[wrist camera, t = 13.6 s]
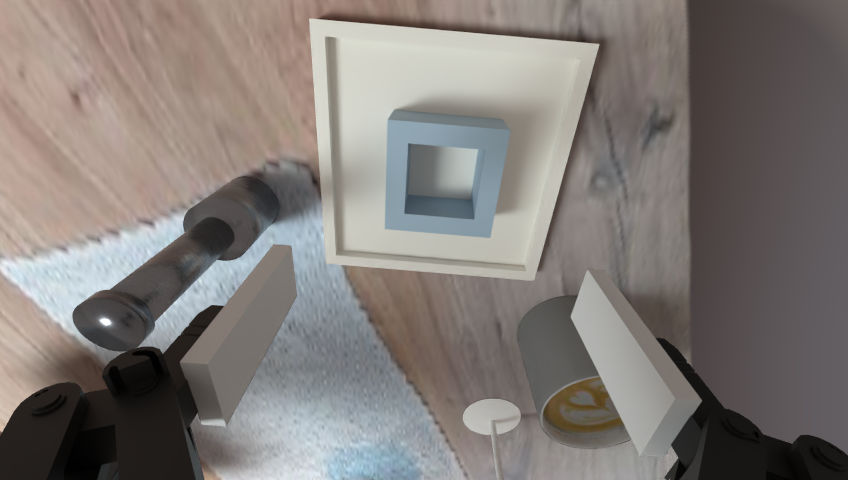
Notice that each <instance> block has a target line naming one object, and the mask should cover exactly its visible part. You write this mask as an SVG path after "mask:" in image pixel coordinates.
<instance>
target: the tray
mask: <svg viewBox="0 0 848 480" xmlns="http://www.w3.org/2000/svg"><path fill="white" fill-rule="evenodd" d="M309 21H310V35H311V50H312V65H313V80H314V95H315V110H316V124H317V139H318V154H319V169H320V184H321V198H322V213H323V228H324V243H325V258H326V264H338V265H350V266H362V267H374V268H386V269H398V270H410V271H422V272H434V273H445V274H457V275H469V276H481V277H493V278H505V279H517V280H529V281H534V279H535V276H536V272H537V268H538V265H539V261H540V258H541V254H542V250H543V247H544V243H545V240H546V236H547V232H548V229H549V225H550V221H551V218H552V214H553V211H554V207H555V203H556V200H557V196H558V193H559V189H560V185H561V182H562V178H563V175H564V171H565V167H566V164H567V160H568V156H569V153H570V149H571V146H572V142H573V138H574V135H575V131H576V128H577V124H578V120H579V117H580V113H581V109H582V106H583V102H584V99H585V95H586V91H587V88H588V84H589V81H590V77H591V73H592V70H593V66H594V63H595V59H596V55H597V52H598V48H599V44H593V43H582V42H571V41H559V40H548V39H537V38H525V37H514V36H503V35H491V34H480V33H468V32H457V31H446V30H434V29H423V28H412V27H400V26H389V25H378V24H366V23H355V22H343V21H332V20H321V19H309ZM393 110H403V111H414V112H426V113H437V114H449V115H460V116H472V117H484V118H495V119H502V120H503V121H504V122H505V124H506V125H507V126H508V127H509V129H510V130H511V132H510V137H509V142H508V148H507V153H506V158H505V163H504V169H503V174H502V179H501V184H500V190H499V195H498V200H497V205H496V211H495V216H494V221H493V226H492V232H491V237H490V238H483V237H472V236H460V235H448V234H436V233H424V232H412V231H401V230H389V229H385V199H386V161H387V123H388V118H389V117H390V115H391V113H392V112H393ZM477 153H478V149H468V148H457V147H445V146H434V145H422V144H411V154H410V171H409V188H408V195H419V196H430V197H442V198H454V199H466V200H470V199H471V193H472V186H473V179H474V173H475V166H476V159H477Z"/></svg>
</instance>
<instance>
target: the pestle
mask: <svg viewBox="0 0 848 480" xmlns="http://www.w3.org/2000/svg"><path fill="white" fill-rule="evenodd" d="M278 212H279V204H278V200H277V198H276V196H275V194H274V193H273V191H272V190H271V189H270V188H269V187H268V186H267V185H266V184H264V183H263V182H261V181H259V180H257V179H254V178H250V177H239V178H236V179H234V180H232V181H231V182H229V183H228V184H226V185H225V186H223V187H222V188H220V189H219V190H217V191H216V192H214V193H213V194H211V195H210V196H208V197H207V198H205V199H204V200H202V201H201V202H200V203H198V204H197V205H195V206H194V207H192V208H191V209H190V210H188V212H187V213H186V215H185V217H184V221H183V227H184V231H185V233H184V234H183V235H181V236H180V237H179V238H177V239H176V240H175V241H173V242H172V243H171V244H170V245H168V246H167V247H166V248H164V249H163V250H162V251H160V252H159V253H158V254H156V255H155V256H154V257H152V258H151V259H150V260H148V261H147V262H146V263H144V264H143V265H142V266H140V267H139V268H138V269H137V270H135V271H134V272H133V273H131V274H130V275H129V276H127V277H126V278H125V279H123V280H122V281H121V282H119V283H118V284H117V285H115V286H114V287H113V288H111V289H110V290H103V291H99V292H96V293H95V294H93V295H92V296H91V297H89V298H88V299H87V300H85V301H84V302H82V303H81V304H80V305H78V306H77V307H76V308H75V309H74V311H73V322H74V324H75V326H76V328H77V329H78V330H79V332H80V333H81V334H82V335H83V336H84V337H85V338H87V339H88V340H89V341H91V342H93V343H94V344H96V345H98V346H100V347H103V348H105V349H109V350H113V351H129V350H132V349H135V348H137V347H138V346H139V345H140V344H141V343H142V342H143V341H144V340H145V339H146V338H147V337H148V336H149V335H150V334H151V333H152V331H153V330H154V327H155V321H156V320H157V319H158V318H159V317H160V316H161V315H162V314H163V313H164V312H165V311H166V310H167V309H168V308H169V307H170V306H171V305H172V304H173V303H174V302H175V301H176V300H177V299H178V298H179V297H180V296H181V295H182V294H183V293H184V292H185V291H186V290H187V289H188V288H189V287H190V286H191V285H192V284H193V283H194V282H195V281H196V280H197V279H198V278H199V277H200V276H201V275H202V274H203V273H204V272H205V271H206V270H207V269H208V268H209V267H210V266H211V265H212V264H213V263H214V262H215V261H216V260H223V261H228V260H234V259H237V258H239V257H241V256H242V255H243V254H244V253H245V252H246V251H247V250H248V249H249V248H250V246H251V245H252V244H253V243H254V242H255V241H256V240H257V239H258V238H259V237H260V236H261V234H262V233H263V232H264V231H265V230H266V229H267V228H268V227H269V226H270V225H271V224H272V222H273V221H274V220H275V219H276V217H277V215H278Z"/></svg>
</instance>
